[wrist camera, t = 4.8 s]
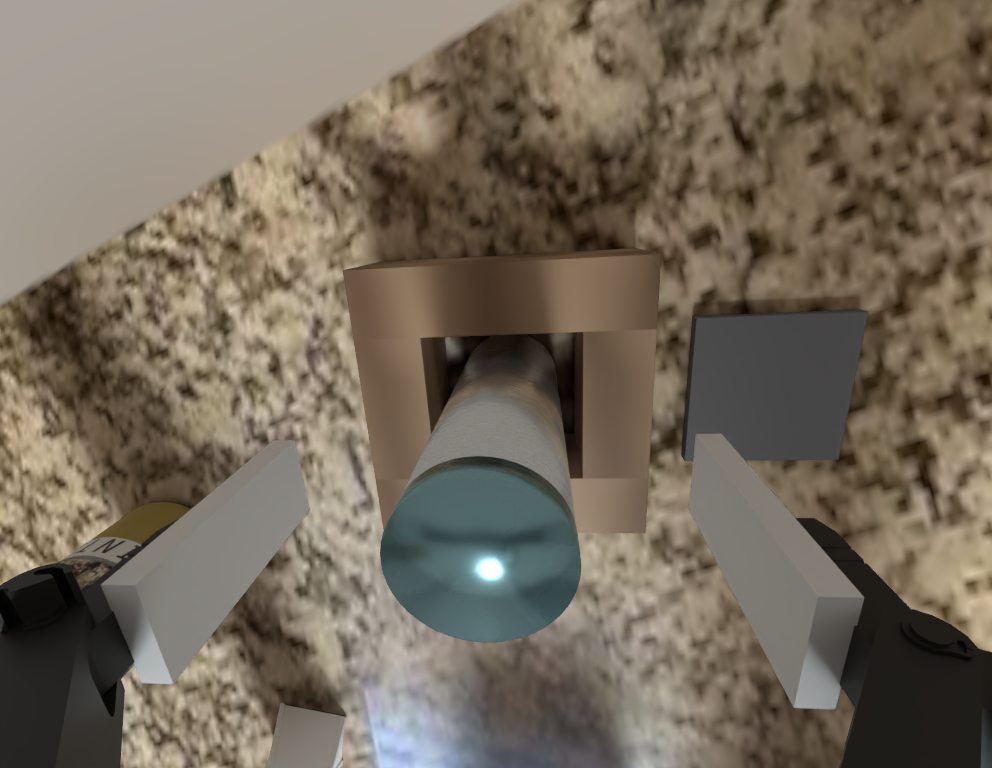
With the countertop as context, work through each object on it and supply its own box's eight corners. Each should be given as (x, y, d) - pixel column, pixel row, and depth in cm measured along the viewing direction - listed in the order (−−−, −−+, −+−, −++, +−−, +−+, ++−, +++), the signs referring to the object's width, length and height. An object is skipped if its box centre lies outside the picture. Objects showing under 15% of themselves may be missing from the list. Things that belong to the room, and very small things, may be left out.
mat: (860, 309, 23) (868, 311, 22) (831, 454, 25) (838, 459, 25) (692, 316, 24) (696, 318, 23) (681, 455, 26) (684, 460, 26)
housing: (635, 248, 23) (660, 254, 18) (626, 479, 27) (645, 532, 22) (380, 261, 24) (342, 270, 19) (409, 480, 28) (383, 531, 24)
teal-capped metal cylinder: (555, 330, 25) (581, 476, 10) (556, 417, 26) (580, 645, 12) (462, 333, 25) (366, 476, 11) (469, 419, 27) (393, 639, 12)
